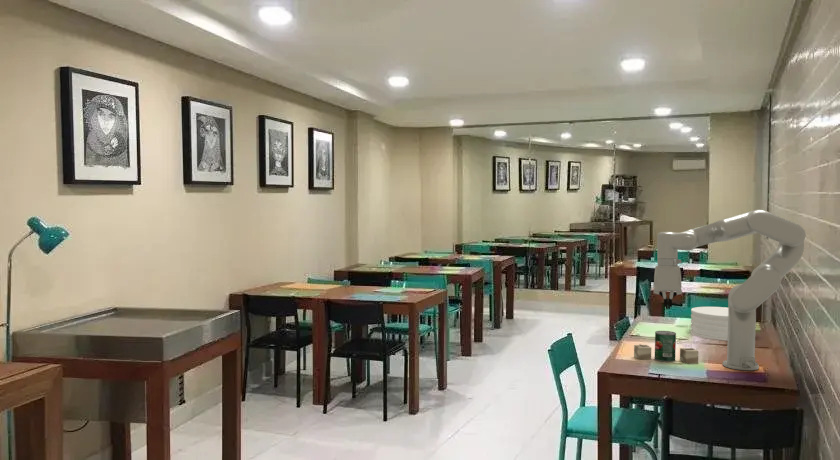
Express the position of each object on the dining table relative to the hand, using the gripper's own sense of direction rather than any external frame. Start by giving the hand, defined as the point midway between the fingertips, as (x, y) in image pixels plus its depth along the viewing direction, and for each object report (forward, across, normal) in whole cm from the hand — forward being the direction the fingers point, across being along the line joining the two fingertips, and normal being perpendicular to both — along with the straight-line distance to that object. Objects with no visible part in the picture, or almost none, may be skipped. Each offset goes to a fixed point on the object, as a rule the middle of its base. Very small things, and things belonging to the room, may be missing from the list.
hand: (667, 308), depth 261 cm
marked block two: (+20, +10, +1) cm, 23 cm away
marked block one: (+21, -8, 0) cm, 22 cm away
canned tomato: (+21, +1, 0) cm, 21 cm away
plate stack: (+22, -25, -63) cm, 72 cm away
